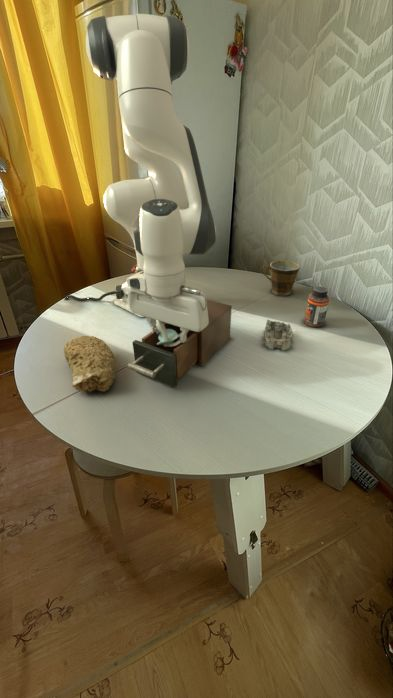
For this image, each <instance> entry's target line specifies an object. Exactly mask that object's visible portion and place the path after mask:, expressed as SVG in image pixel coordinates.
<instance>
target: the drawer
mask: <svg viewBox="0 0 393 698" xmlns="http://www.w3.org/2000/svg"><path fill="white" fill-rule="evenodd" d="M163 324H164V326H165V328H166V329H172V330H174V331H176V333H177V334H180V333H181V332H182V331H181V330H180V327H178V326H175V325H172V324H168V323H165V322H164V323H163ZM159 334H160V333H159ZM159 334H158V335H157V334H154V333H152V331H151V332H149V333H148V334H146V335H144V336H143V337H142V338H141V341H140V340H138V339H135V340H133V341H132V342H131V343H132V350H133V357H134V361H132V362H131V361H129V362H128V364H127V368H128V369H129V370H131V371H135V372H136V373H137V374H140V375H143V376H145V377H147V378H150V379H152V380H155V381H157V382H159V383H162V384H164V385H167V386H169V387H171V388H175V387H176V386H177V385H178V380H179V379H180V378H182V376H183V375H184V374H186V373H187V372H188V371H189V370H190V369H191V368H192V367H193V366H194V365H196V364H195V363H196V362H197V361H198V360H199V333H198V332H195V331H191V330H189V331H188V333H187V334H186V335H187V340H186V341H185V342H184V343H180V344H178V345H176V346H173V347H169V346H167V347H165V346H164V345H163V344H161V345H157V343H159V342H160V340H159V338H158V337H159ZM162 337H163V336H162ZM175 342H177V339H176V340H174V343H175Z"/></svg>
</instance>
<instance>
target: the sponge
mask: <svg viewBox="0 0 393 698" xmlns="http://www.w3.org/2000/svg"><path fill="white" fill-rule="evenodd" d="M63 353H64V358H65V360H66V363H67V364H68V366H69V368H70V370H71V372H72V374H71V383H72V384H71V385H72V387H73V388H74V389H75V390H76V391H79V392H80V393H82V392H93V391H96V390H97V391H100V392H104V393H105V392H106V391H109V389H110V388H111V386H112V385H113V383H114V380H115V377H116V373H115V369H116V356H115V353H114V352H113V351H112V350H111V348H110V346H109V345H108V344H107V343H106V342H105V341H104V340H103V339H101V338H98V337H96V336H94V335H81V336H78V337H76V338H74V339H71V340H69V341H68V342H66V344H65V345H64V348H63Z"/></svg>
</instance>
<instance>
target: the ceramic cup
mask: <svg viewBox="0 0 393 698" xmlns="http://www.w3.org/2000/svg"><path fill="white" fill-rule="evenodd" d="M264 268H266V269H267V270H268V271H269V273H270V277H269V276H268V275H267V274H266V273H265V272H264V271H263V269H264ZM300 268H301V266H300V264H299V263H297V262H295V261H291V260H282V259H280V260H274V261H272V262H270V264H269V265H262V266H261V268H260V272H261V274H263V275H264V276H265V277H266V278H267V279H268V281H270V284H271V292H272V294H274V295H276V296H279V297H281V296H283V297H286V296H289V295H291V294H292V290H293V288H294V285H295V282H296V279H297V277H298V275H299V272H300Z"/></svg>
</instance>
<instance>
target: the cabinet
mask: <svg viewBox="0 0 393 698" xmlns="http://www.w3.org/2000/svg"><path fill="white" fill-rule="evenodd" d="M232 307H233V306H232V305H231V304H227V303H223V302H219V301H215V300H212V299H209V298H207V310H208V319H209V323H208V325H207V326H206V327H205V328H204V329H203V330H202V331H200V332H198V333H199V360H198V361H197V362H196V363H195V364H194V365H196V366H198V367H203V366H205V364H207V362H208V361H209V360H211V358H212V357H213V356H214V355H215V354H217V352H219V350H221V349H222V347H223V346H225V344H227V342H229V340H230V339H231V329H232V328H231V327H232ZM162 323H164V322H162ZM191 331H192V330H191Z"/></svg>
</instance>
